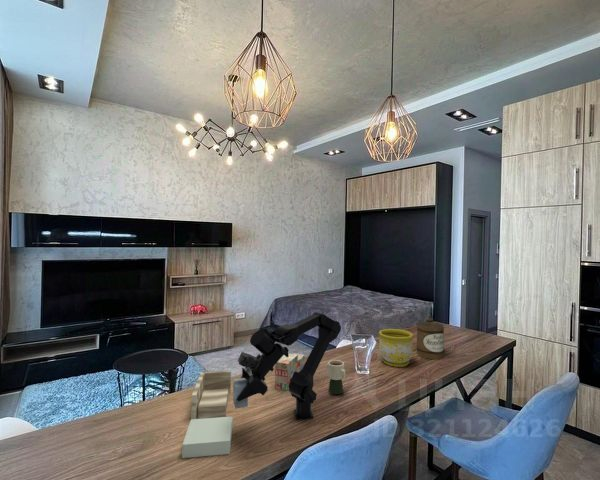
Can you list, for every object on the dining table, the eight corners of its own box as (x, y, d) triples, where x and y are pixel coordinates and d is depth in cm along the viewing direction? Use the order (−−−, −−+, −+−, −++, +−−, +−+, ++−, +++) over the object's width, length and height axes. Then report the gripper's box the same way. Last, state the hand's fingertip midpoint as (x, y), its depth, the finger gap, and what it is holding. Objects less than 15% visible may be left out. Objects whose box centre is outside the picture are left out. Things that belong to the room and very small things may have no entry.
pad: (229, 453, 97) (230, 440, 97) (182, 458, 95) (182, 444, 95) (232, 427, 111) (232, 416, 111) (190, 431, 109) (191, 419, 109)
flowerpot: (420, 366, 169) (420, 335, 169) (392, 371, 162) (392, 339, 163) (398, 355, 186) (398, 327, 186) (372, 359, 179) (372, 330, 179)
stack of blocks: (293, 371, 162) (293, 347, 162) (304, 373, 159) (305, 348, 159) (274, 388, 142) (275, 361, 142) (287, 391, 139) (287, 363, 140)
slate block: (247, 406, 104) (247, 385, 104) (235, 408, 103) (235, 386, 103) (244, 398, 110) (244, 377, 110) (233, 400, 108) (233, 379, 109)
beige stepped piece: (226, 417, 117) (227, 393, 118) (191, 420, 115) (191, 395, 116) (230, 390, 139) (230, 370, 139) (200, 392, 137) (201, 371, 137)
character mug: (350, 395, 136) (350, 364, 136) (339, 399, 132) (339, 368, 132) (333, 386, 145) (333, 357, 145) (321, 390, 140) (321, 360, 140)
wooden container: (428, 360, 178) (427, 321, 178) (411, 352, 192) (411, 315, 192) (449, 358, 182) (449, 319, 182) (432, 350, 196) (432, 314, 197)
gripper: (247, 336, 117) (216, 370, 113) (257, 353, 99) (221, 393, 95) (268, 355, 119) (238, 389, 115) (281, 375, 101) (247, 415, 98)
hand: (236, 396), depth 106 cm, fingers closed on slate block, 6 cm apart
